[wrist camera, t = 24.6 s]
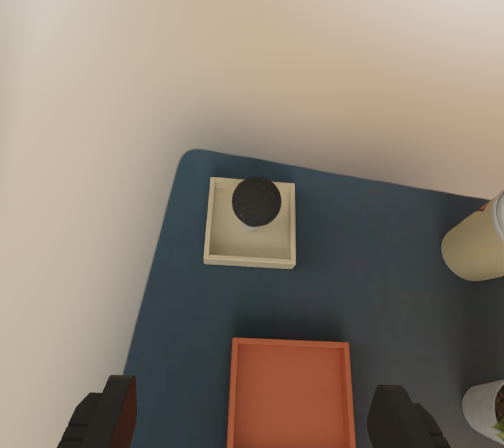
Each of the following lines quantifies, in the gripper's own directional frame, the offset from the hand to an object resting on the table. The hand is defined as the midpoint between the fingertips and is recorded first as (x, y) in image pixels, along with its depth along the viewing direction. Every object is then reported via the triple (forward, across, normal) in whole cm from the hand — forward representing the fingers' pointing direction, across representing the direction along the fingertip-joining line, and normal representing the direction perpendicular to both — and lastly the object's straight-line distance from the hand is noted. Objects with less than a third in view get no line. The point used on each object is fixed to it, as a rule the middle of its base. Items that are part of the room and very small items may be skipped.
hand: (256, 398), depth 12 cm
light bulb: (+34, -2, +8) cm, 36 cm away
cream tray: (+35, -2, +8) cm, 36 cm away
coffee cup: (+34, -32, +10) cm, 47 cm away
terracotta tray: (+20, -7, +23) cm, 31 cm away
